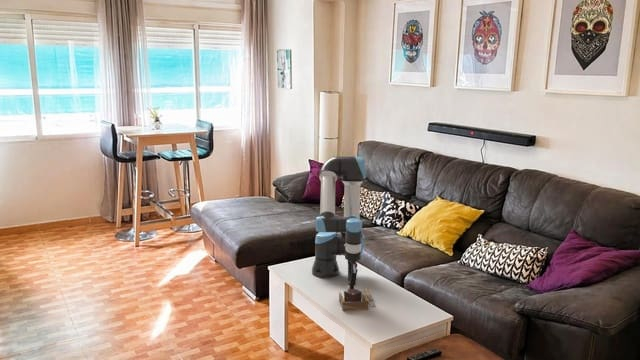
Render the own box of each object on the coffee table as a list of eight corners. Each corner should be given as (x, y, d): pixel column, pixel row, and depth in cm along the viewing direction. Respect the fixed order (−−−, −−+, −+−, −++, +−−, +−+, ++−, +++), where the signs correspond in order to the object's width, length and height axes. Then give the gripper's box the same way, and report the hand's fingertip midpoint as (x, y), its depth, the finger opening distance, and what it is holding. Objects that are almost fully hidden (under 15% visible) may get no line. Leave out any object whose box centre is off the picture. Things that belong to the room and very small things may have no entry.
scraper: (363, 292, 261) (363, 288, 260) (368, 292, 261) (368, 288, 261) (370, 306, 244) (370, 302, 244) (375, 306, 244) (375, 302, 244)
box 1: (361, 306, 245) (362, 291, 243) (352, 309, 241) (352, 295, 240) (352, 302, 249) (353, 287, 248) (343, 305, 245) (343, 290, 244)
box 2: (338, 300, 251) (339, 292, 250) (363, 299, 252) (363, 291, 251) (342, 310, 240) (342, 302, 239) (368, 309, 241) (368, 301, 240)
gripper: (343, 246, 251) (341, 291, 257) (347, 255, 239) (345, 302, 244) (358, 246, 252) (356, 290, 258) (363, 255, 240) (361, 302, 245)
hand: (351, 296), depth 251 cm, fingers closed
